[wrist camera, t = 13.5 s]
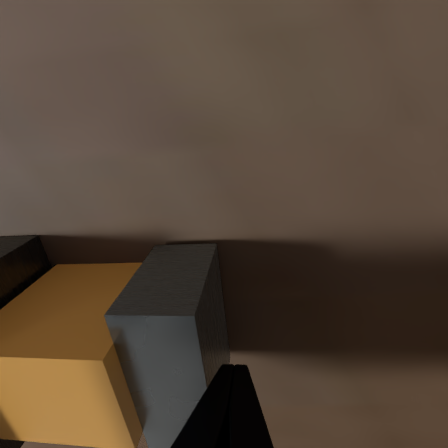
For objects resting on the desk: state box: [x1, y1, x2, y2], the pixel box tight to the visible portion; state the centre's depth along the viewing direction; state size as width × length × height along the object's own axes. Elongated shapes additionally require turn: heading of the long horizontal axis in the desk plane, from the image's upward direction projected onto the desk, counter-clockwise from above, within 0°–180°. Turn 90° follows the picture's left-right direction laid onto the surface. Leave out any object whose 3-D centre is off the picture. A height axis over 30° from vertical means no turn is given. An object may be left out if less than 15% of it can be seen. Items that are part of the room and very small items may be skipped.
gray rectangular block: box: [104, 243, 230, 448], centre depth 10 cm, size 6×2×4 cm, turn 5°
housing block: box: [0, 263, 143, 448], centre depth 11 cm, size 4×5×5 cm
